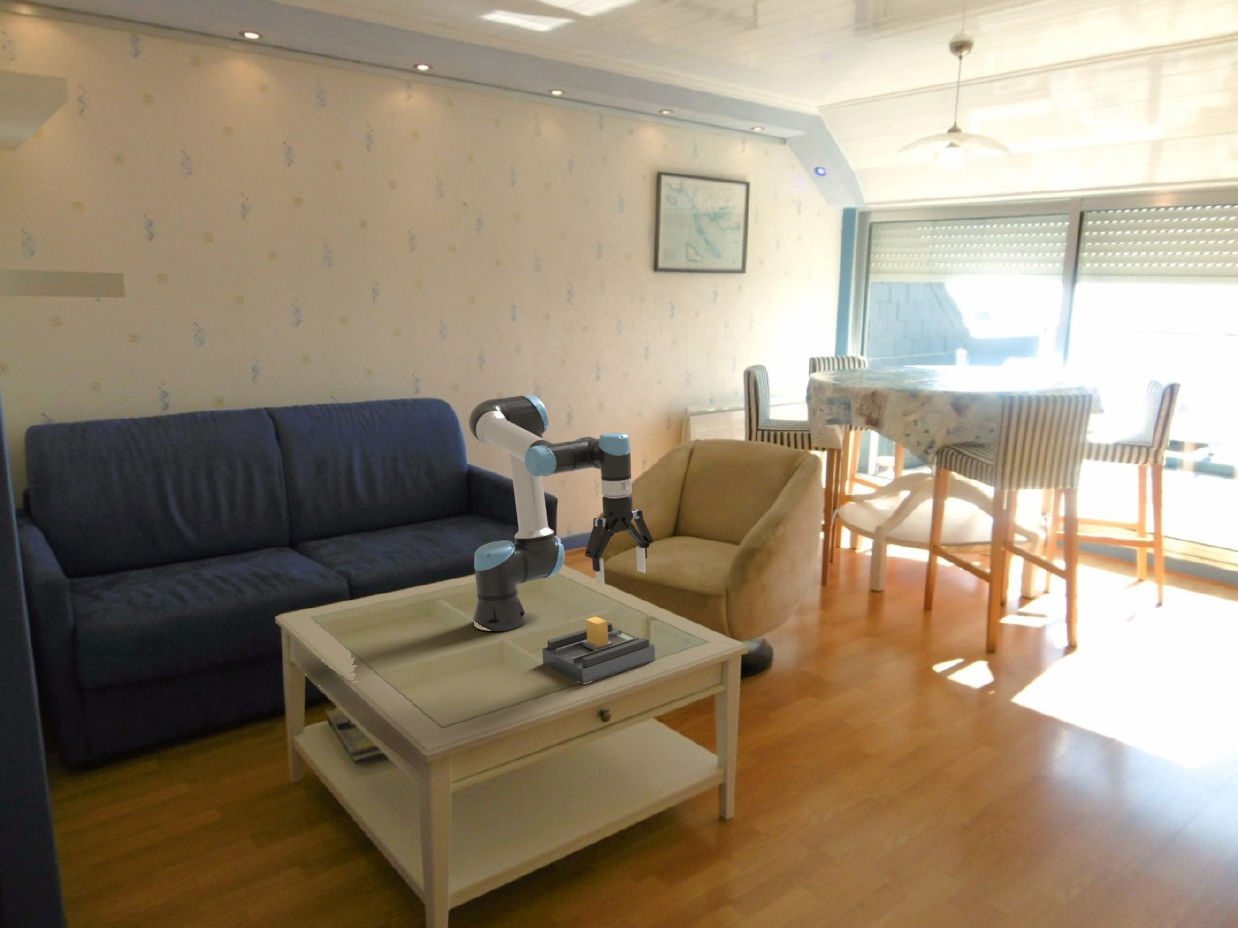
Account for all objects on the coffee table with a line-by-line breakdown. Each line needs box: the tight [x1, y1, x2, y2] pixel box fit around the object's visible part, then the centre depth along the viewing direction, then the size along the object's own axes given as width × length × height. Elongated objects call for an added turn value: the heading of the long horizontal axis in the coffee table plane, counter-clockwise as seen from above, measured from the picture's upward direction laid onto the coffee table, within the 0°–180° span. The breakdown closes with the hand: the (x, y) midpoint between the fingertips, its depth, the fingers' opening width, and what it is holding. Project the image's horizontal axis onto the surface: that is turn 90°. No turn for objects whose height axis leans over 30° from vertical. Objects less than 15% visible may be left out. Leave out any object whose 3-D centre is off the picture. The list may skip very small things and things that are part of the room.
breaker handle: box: [583, 616, 613, 651], centre depth 221 cm, size 6×5×7 cm
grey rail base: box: [541, 626, 656, 684], centre depth 221 cm, size 18×22×5 cm
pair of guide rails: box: [546, 621, 650, 667], centre depth 221 cm, size 17×19×2 cm
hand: (621, 577), depth 223 cm, fingers open, 12 cm apart
